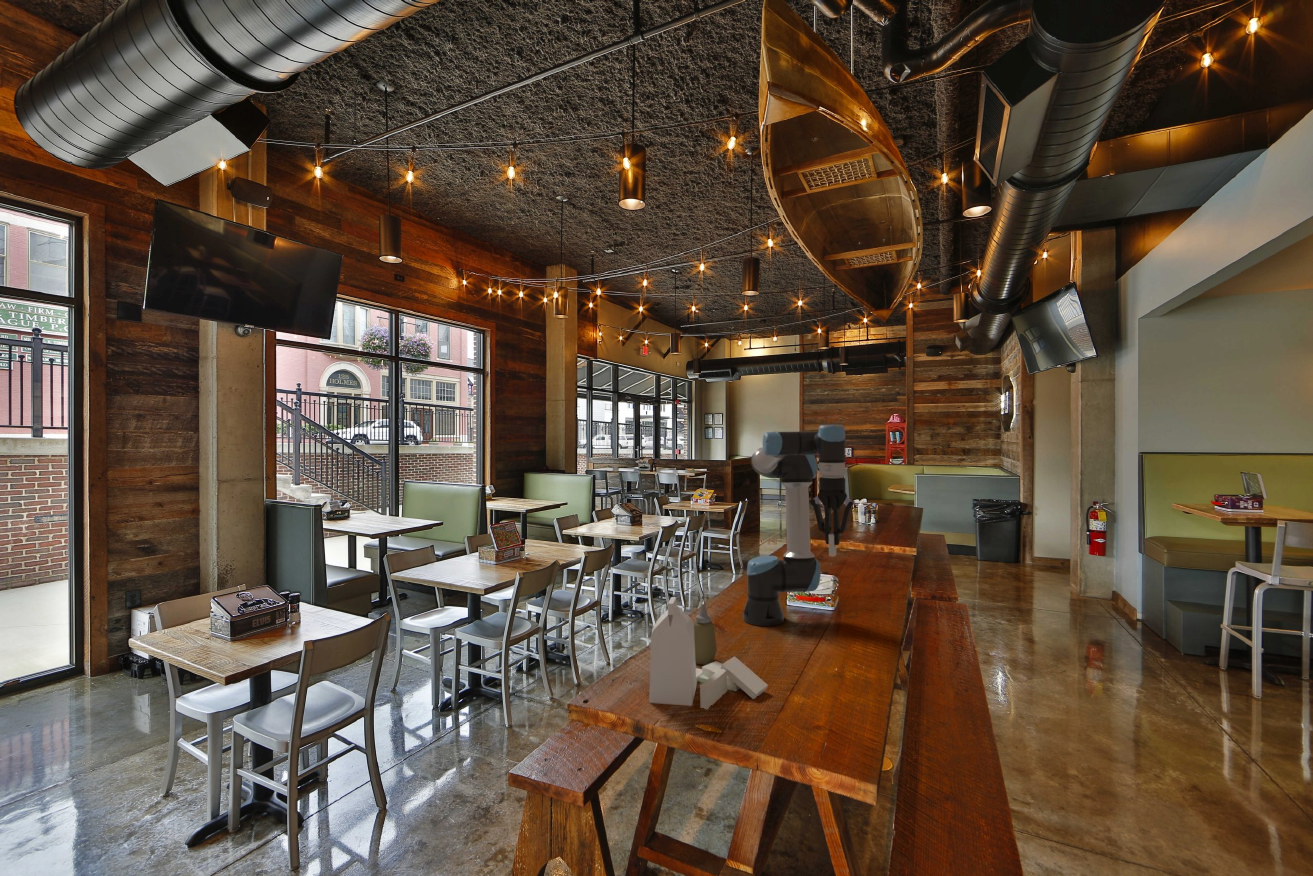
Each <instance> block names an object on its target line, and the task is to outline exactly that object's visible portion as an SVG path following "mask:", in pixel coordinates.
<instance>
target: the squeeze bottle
mask: <svg viewBox="0 0 1313 876" xmlns="http://www.w3.org/2000/svg"><path fill="white" fill-rule="evenodd" d="M707 611H708V610H707V606H706V604H705V603H702V604H700V610H699V614H697V615H695V622H694V621H693V624H694V640H695V662H696V664H698V665H703V666H705V665H708V664H710V663H713V662H715V657H716V654H717V651H718V650H717V640H716V633H715V631H716V630H715V625H714V622H712V617H711V614H709V613H708V612H707Z"/></svg>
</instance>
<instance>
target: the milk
mask: <svg viewBox="0 0 1313 876" xmlns="http://www.w3.org/2000/svg"><path fill="white" fill-rule="evenodd" d="M677 602H678V601H677V596H676V597H675V596H671V597H670V599H669V601H668V603H667V610H666V611H665V612H664V613H662V614H661V615H660V617H659V618H658V619H657V620H656V622H655V624H654V626H653V628H652V630H651V635H650V658H649V659H650V660H649V661H650V662H649V665H650V666H649V691H648V692H649V693H648V694H649V696H648V703H649V704H660V705H661V704H663V705H677V706H688V707H689V706H690V707H692V706H693V702H694V698H695V693H696V689H697V685H698V682H697V683H696V668H697V665H696V664H697V663H696V662H695V640H694V621H693V619H692V618H691V617H690V616H689V615H688V614H687V613H686V612H685V611H684V610H683V609H682V608H680V606H678V603H677Z"/></svg>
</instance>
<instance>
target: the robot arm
mask: <svg viewBox="0 0 1313 876" xmlns="http://www.w3.org/2000/svg"><path fill="white" fill-rule="evenodd" d="M846 438H847V437H846V430H845V426H844V425H842V424H821V425H819V426H818V430H812V431H809V430H808V431H807V430H806V431H805V430H804V431H803V430H802V431H801V430H800V431H776V430H774V431H769V432H767V431H766V432H765V433H764V434H763V436H762V446H761V447H759V448H757V449H756V450H755V451H754V452H753V454H752V455H751V458H750V464H751V467H752V469H753V470H754V472H756V473H757V474H758V475H760V476H762V477H765V478H768V479H780V484H781V485H782V486H783V487H784V490H785V493H784V494H785V517H786V518H785V522H786V523H785V524H786V525H785V528H786V552H785V553H784V554H783V555H782V558H783V559H781V560H780V559H779V558H778V557H779V556H775V555H761V556H755V557H753V558H751V559H750V560H748V562H747V565H746V566H747V568H746V575H747V580H746V581H747V582H746V584H747V587H746V588H747V589H746V590H747V598H746V603H745V605H744V608H743V612H742V619H743V621H744V622H746V623H747V624H750V625H753V626H759V627H760V626H761V627H773V626H778V625H780V624H782V623H784V622H785V621H784V620H785V618H784V617H785V615H784V611H783V608H782V606H781V605H782V604H781V602H780V597H779V596H780V595H779V594H780V593H793V592H794V593H809V592H814V591H816V590H817V589H818V588H819V585H820V581H821V573H822V572H821V571H822V570H821V563H820V561H819V560H818V559H816V556H815V554H814V553H813V552H812V551H811V529H810V528H811V527H810V523H811V522H810V505H812V508H813V510H814V515H815V519H816V522H817V526H818V531H820V532H823V533H824V534H825V538H824V539H825V544H826V545H828V556H829V557H831V558H833V557H836V556H837V546H839V545H840V542H841V541H840V540H841V539H840V538H841V536H840V535H841V534H843V533H846V532H847V529H848V528H847V527H848V524H849V520H850V516H851V512H852V508H853V507H854V505H855V504H856V501H855V500H852V499H850V498H848V494H847V493H846V478H845V476H846ZM816 456H818V465H817V459H816ZM817 475H819V476H820V477H819V478H818V493H817V495H816V496H815V497H813V498H811V499H810V498H809V497H810V495H809V494H810V493H809V487H811V485H812V484H813V479H815V478H817ZM820 502H821V503H820ZM820 504H822V505H823V506H824V507H823V508H824V509H823V511H824V516H823V514H822V510H821V509H822V508H821V505H820ZM843 504H844V506H845V509H844V512H843V517H842V520H841V507H842V506H843ZM832 511H833V530H832Z"/></svg>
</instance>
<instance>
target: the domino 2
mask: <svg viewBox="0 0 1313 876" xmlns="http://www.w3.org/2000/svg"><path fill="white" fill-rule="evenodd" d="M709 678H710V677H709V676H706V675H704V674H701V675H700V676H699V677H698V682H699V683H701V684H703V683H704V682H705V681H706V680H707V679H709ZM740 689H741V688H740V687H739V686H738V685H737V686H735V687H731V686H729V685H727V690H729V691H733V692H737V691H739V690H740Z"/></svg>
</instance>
